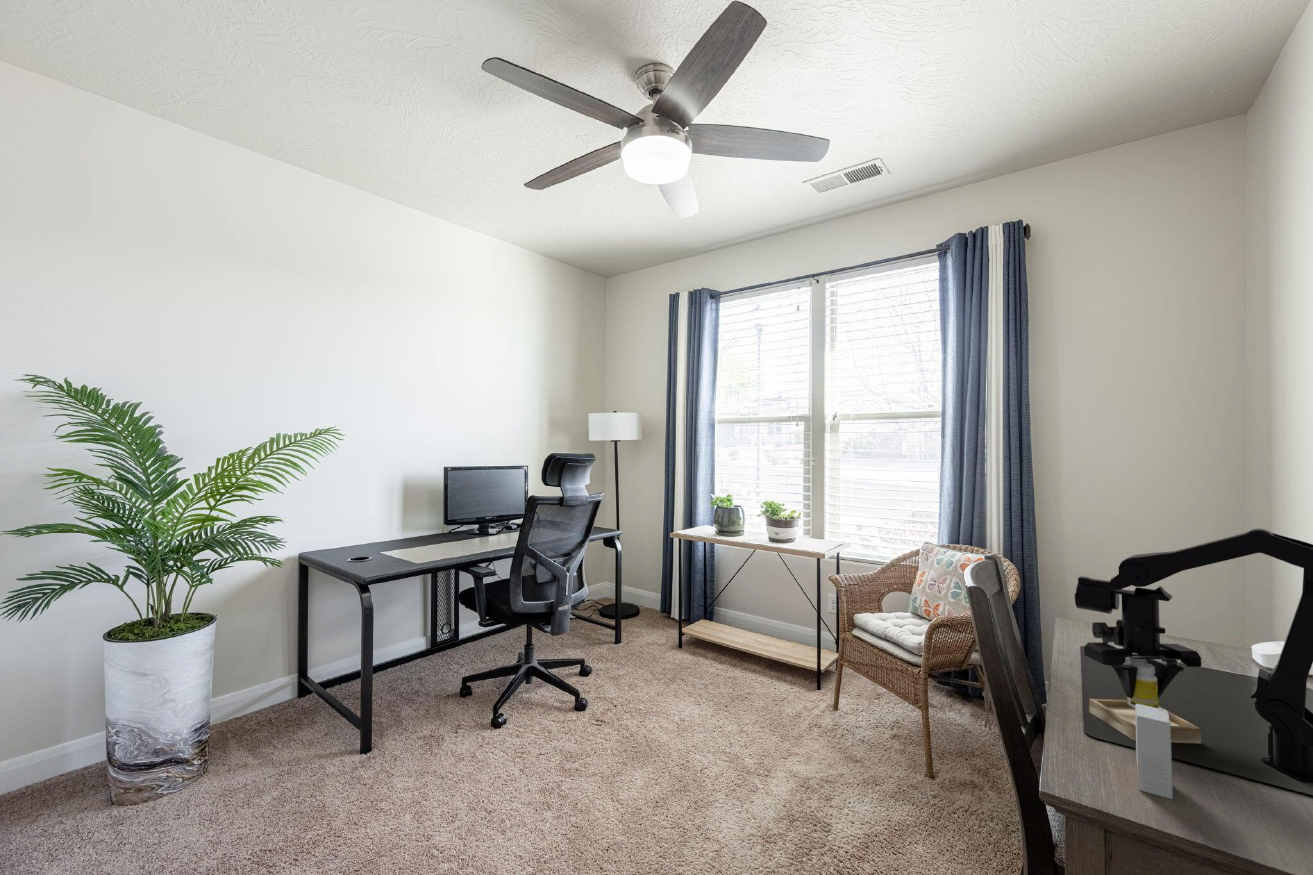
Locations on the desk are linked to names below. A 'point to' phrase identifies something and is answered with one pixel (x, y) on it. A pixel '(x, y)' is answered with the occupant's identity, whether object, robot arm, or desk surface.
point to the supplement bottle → (1145, 686)
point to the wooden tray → (1125, 720)
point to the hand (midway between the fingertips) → (1142, 697)
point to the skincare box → (1153, 751)
